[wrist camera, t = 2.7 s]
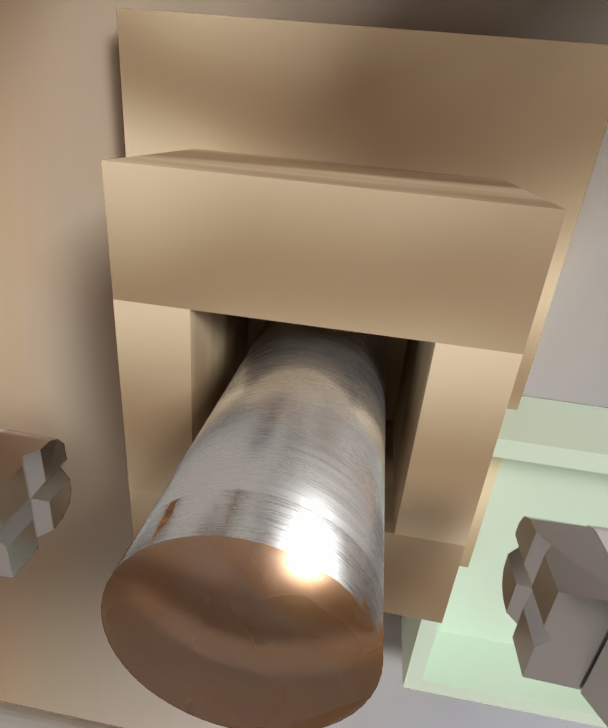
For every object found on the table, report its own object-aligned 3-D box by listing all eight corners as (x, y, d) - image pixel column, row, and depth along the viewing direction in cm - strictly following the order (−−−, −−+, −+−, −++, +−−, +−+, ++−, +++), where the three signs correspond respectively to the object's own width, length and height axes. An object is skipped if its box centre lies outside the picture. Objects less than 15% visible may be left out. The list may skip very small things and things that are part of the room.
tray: (459, 387, 16) (472, 434, 14) (765, 430, 15) (837, 489, 13) (401, 621, 21) (402, 686, 19) (631, 664, 20) (665, 740, 18)
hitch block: (134, 15, 13) (-38, -59, 8) (613, 52, 12) (792, -6, 7) (159, 494, 20) (76, 627, 15) (464, 546, 19) (494, 711, 14)
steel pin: (270, 275, 15) (87, 510, 6) (395, 291, 14) (407, 568, 5) (264, 384, 16) (112, 702, 7) (376, 400, 16) (361, 756, 7)
